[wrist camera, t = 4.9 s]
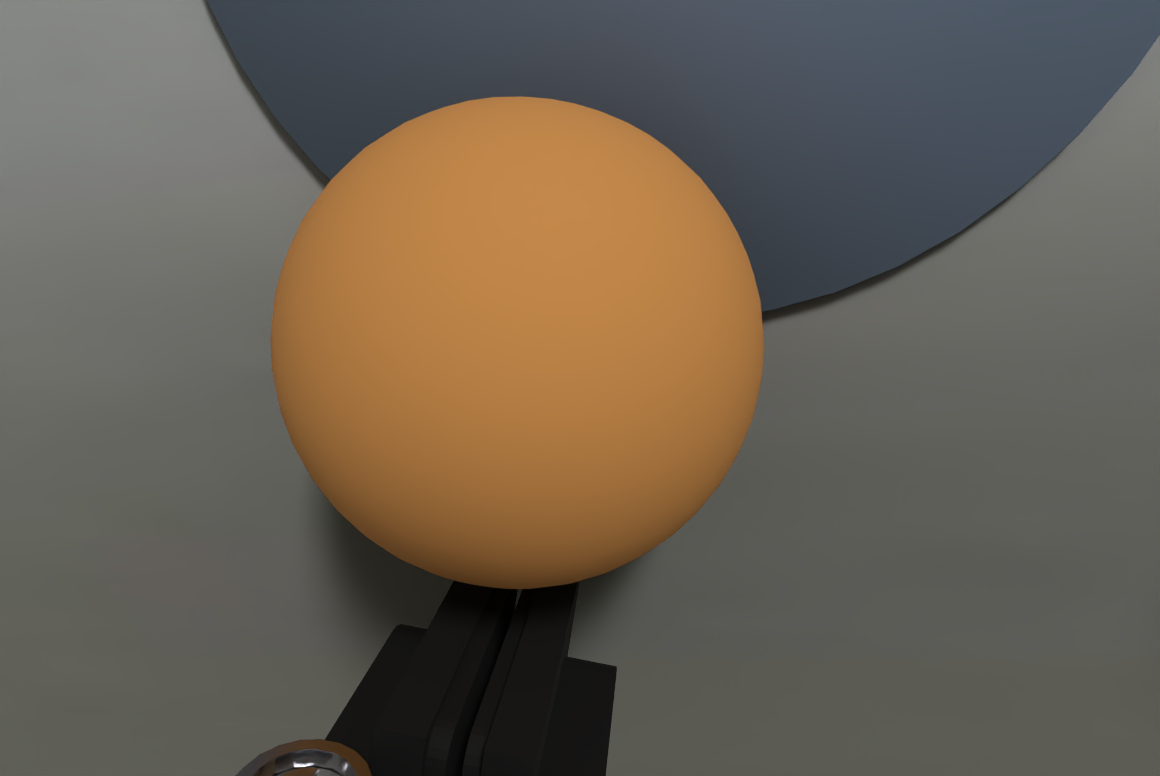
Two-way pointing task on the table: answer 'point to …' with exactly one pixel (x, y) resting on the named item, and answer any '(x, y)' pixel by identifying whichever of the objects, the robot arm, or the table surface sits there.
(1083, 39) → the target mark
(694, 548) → the table surface
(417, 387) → the ball
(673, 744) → the table surface
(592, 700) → the robot arm
